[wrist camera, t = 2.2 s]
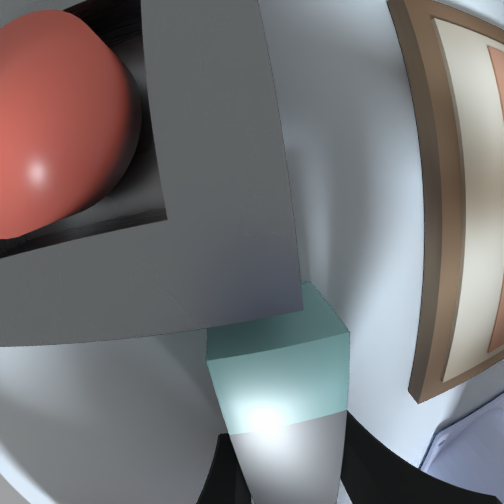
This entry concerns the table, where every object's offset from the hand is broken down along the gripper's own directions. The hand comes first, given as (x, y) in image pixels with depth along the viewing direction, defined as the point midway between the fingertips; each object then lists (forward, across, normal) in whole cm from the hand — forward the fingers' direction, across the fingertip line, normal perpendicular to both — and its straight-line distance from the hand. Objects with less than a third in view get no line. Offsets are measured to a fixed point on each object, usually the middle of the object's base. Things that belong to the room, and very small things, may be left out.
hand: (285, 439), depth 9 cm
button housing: (+1, +4, -11) cm, 12 cm away
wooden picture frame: (+1, -12, -7) cm, 14 cm away
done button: (-1, +4, -11) cm, 12 cm away
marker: (+2, 0, 0) cm, 2 cm away
